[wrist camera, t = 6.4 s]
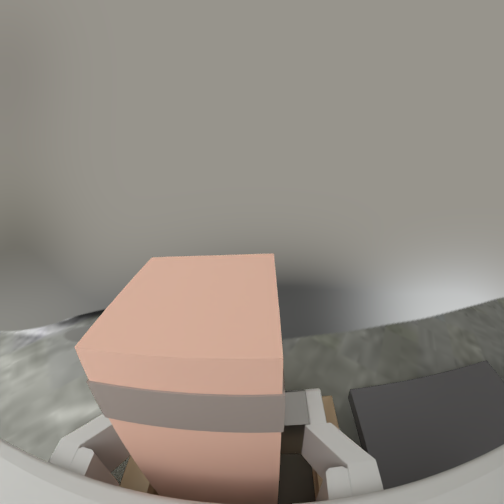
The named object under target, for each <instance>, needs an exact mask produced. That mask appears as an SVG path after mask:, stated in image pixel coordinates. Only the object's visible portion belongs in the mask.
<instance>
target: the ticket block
mask: <svg viewBox="0 0 504 504" xmlns="http://www.w3.org/2000/svg"><path fill="white" fill-rule="evenodd" d="M75 349H76V352H77V354H78V357H79V359H80V361H81V364H82V366H83V368H84V370H85V372H86V375H87V377H88V380H87V381H86V382H87V384H88V386H89V388H90V390H91V392H92V394H93V396H94V398H95V400H96V402H97V404H98V405H99V407H100V409H101V411H102V413H103V415H104V416H105V417H106V418H109V420H110V422H111V424H112V425H113V427H114V429H115V430H116V432H117V434H118V436H119V437H120V439H121V441H122V442H123V444H124V445H125V447H126V449H127V450H128V452H129V453H130V455H131V456H132V458H133V459H134V461H135V462H136V464H137V465H138V467H139V468H140V470H141V471H142V473H143V474H144V475H145V477H146V478H147V480H148V481H149V482H150V484H151V485H152V486H153V488H154V489H155V490H156V492H157V493H158V494H159V496H165V497H171V498H177V499H184V500H191V501H200V502H210V503H223V504H278V489H279V470H280V449H281V432H284V415H285V385H284V371H283V350H282V338H281V326H280V315H279V304H278V293H277V283H276V272H275V261H274V254H245V255H214V256H213V255H212V256H181V257H152V258H151V259H150V260H149V261H148V262H147V263H146V265H144V267H143V268H142V269H141V270H140V271H139V272H138V273H137V274H136V275H135V276H134V278H133V279H132V280H131V281H130V282H129V283H128V284H127V285H126V287H125V288H124V289H123V290H122V291H121V292H120V293H119V295H118V296H117V297H116V298H115V299H114V300H113V301H112V303H111V304H110V305H109V306H108V307H107V308H106V310H105V311H104V312H103V313H102V314H101V315H100V317H99V318H98V319H97V320H96V321H95V323H94V324H93V325H92V326H91V328H90V329H89V330H88V331H87V332H86V334H85V335H84V336H83V337H82V338H81V340H80V341H79V342H78V343H77V345H76V346H75Z"/></svg>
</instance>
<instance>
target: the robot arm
mask: <svg viewBox="0 0 504 504" xmlns="http://www.w3.org/2000/svg"><path fill="white" fill-rule="evenodd" d="M280 454H301V455H302V456H303V457H304V458H305V459H306V461H307V462H308V463H309V464H310V465H311V466H312V468H313V469H314V470H315V471H316V472H317V473H318V475H319V476H320V477H321V478H322V479H323V481H322V484H321V487H320V490H319V493H318V496H317V498H316V501H317V502H307V503H294V504H504V444H503V445H501V446H500V447H498V448H496V449H494V450H492V451H490V452H488V453H486V454H484V455H482V456H479V457H477V458H475V459H473V460H471V461H468V462H466V463H464V464H461V465H459V466H457V467H454V468H452V469H449V470H447V471H444V472H441V473H438V474H436V475H433V476H430V477H427V478H424V479H421V480H418V481H415V482H411V483H408V484H404V485H401V486H397V487H393V488H390V489H385V490H384V489H383V485H382V481H381V478H380V474H379V470H378V466H377V463H376V459H374V458H373V457H372V456H370V455H369V454H368V453H367V452H366V451H364V450H363V449H362V448H361V447H359V446H358V445H357V444H356V443H355V442H353V441H352V440H351V439H350V438H348V437H347V436H346V435H345V434H344V433H343V432H341V431H340V430H339V429H338V428H337V427H335V426H334V425H333V424H332V423H327V422H326V416H325V411H324V406H323V401H322V396H321V391H320V389H319V388H317V389H305V390H289V391H285V415H284V432H281V449H280ZM129 456H130V453H129V452H128V450H127V449H126V447H125V445H124V444H123V442H122V441H121V439H120V437H119V436H118V434H117V432H116V430H115V429H114V427H113V425H112V424H111V422H110V420H109V418H106V417H105V416H104V415H103V414H101V415H100V416H98V417H97V418H95V419H93V420H92V421H90V422H88V423H87V424H85V425H83V426H82V427H80V428H78V429H77V430H75V431H73V432H71V433H70V434H68V435H66V436H65V437H63V438H61V439H60V441H59V443H58V445H57V447H56V448H55V450H54V452H53V454H52V456H51V458H50V459H49V461H48V462H47V461H45V460H43V459H40V458H38V457H36V456H34V455H32V454H30V453H28V452H26V451H24V450H22V449H20V448H18V447H16V446H14V445H12V444H10V443H8V442H7V441H5V440H3V439H1V438H0V504H223V503H210V502H200V501H191V500H184V499H177V498H171V497H165V496H159V495H154V494H149V493H144V492H140V491H135V490H131V489H127V488H123V487H119V483H118V481H117V480H116V479H115V478H114V476H113V475H112V474H111V472H112V471H113V470H114V469H115V468H117V467H118V466H119V465H120V464H121V463H122V462H124V461H125V460H126V459H127V458H128V457H129Z"/></svg>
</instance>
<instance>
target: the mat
mask: <svg viewBox="0 0 504 504" xmlns="http://www.w3.org/2000/svg"><path fill="white" fill-rule="evenodd" d="M348 398H349V402H350V405H351V409H352V412H353V416H354V419H355V423H356V427H357V431H358V434H359V438H360V442H361V446H362V449H363V450H364V451H366V452H367V453H368V454H369V455H370V456H372V457H373V458H374V459H376V463H377V466H378V470H379V474H380V478H381V481H382V485H383V489H384V490H385V489H390V488H393V487H397V486H401V485H404V484H408V483H411V482H415V481H418V480H421V479H424V478H427V477H430V476H433V475H436V474H438V473H441V472H444V471H447V470H449V469H452V468H454V467H457V466H459V465H461V464H464V463H466V462H468V461H471V460H473V459H475V458H477V457H479V456H482V455H484V454H486V453H488V452H490V451H492V450H494V449H496V448H498V447H500V446H501V445H503V444H504V382H503V380H502V379H501V378H500V377H499V375H498V374H497V373H496V371H495V370H494V369H493V368H492V366H491V365H490V364H489V363H488V361H487V360H486V361H483V362H479V363H476V364H473V365H469V366H466V367H462V368H459V369H455V370H451V371H447V372H443V373H439V374H435V375H430V376H426V377H421V378H417V379H412V380H407V381H402V382H396V383H390V384H385V385H378V386H372V387H365V388H358V389H350V392H349V397H348Z"/></svg>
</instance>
